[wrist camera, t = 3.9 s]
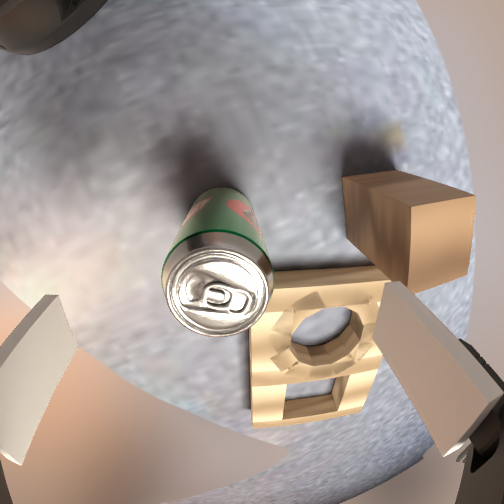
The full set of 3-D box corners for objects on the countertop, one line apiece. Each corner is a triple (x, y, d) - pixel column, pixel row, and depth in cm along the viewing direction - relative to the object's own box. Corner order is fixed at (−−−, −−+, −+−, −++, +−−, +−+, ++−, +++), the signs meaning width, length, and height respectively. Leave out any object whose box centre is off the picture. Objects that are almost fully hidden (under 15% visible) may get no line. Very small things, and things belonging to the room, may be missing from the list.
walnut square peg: (341, 177, 22) (411, 206, 13) (395, 170, 22) (475, 195, 13) (346, 238, 24) (406, 296, 15) (397, 227, 24) (466, 274, 15)
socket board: (248, 272, 24) (250, 290, 22) (390, 264, 25) (405, 278, 23) (250, 410, 32) (252, 428, 29) (353, 395, 33) (360, 411, 30)
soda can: (200, 178, 21) (169, 222, 10) (262, 197, 22) (297, 258, 11) (183, 237, 23) (148, 328, 12) (242, 253, 24) (255, 353, 13)
